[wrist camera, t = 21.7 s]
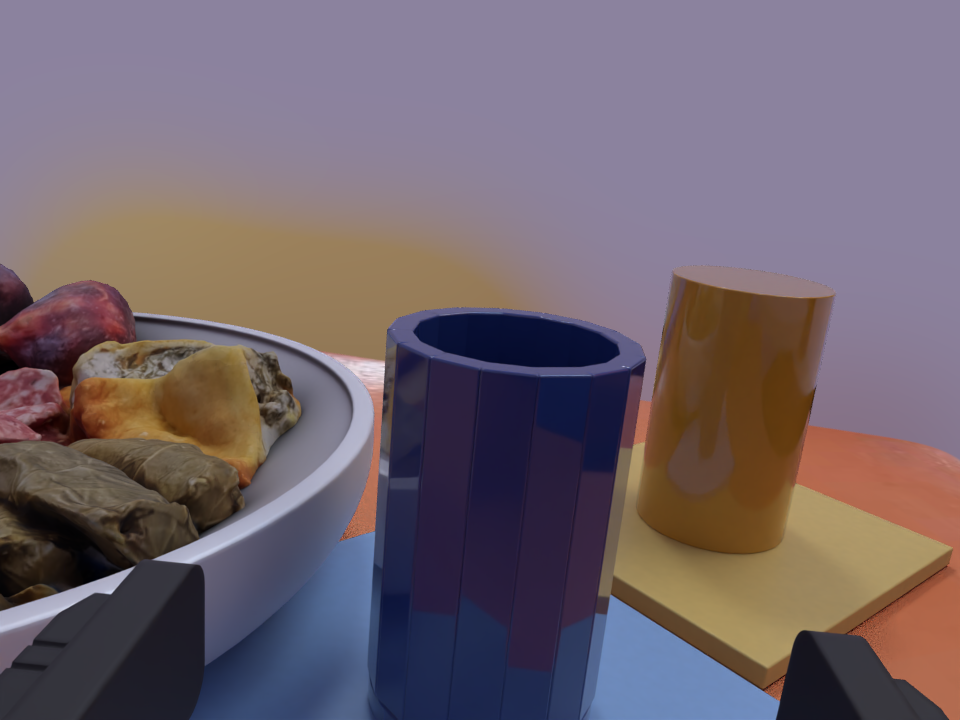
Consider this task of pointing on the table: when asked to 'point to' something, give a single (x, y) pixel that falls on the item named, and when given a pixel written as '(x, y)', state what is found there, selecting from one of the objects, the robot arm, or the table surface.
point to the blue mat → (344, 673)
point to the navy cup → (498, 513)
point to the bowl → (166, 458)
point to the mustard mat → (770, 579)
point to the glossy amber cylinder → (731, 405)
